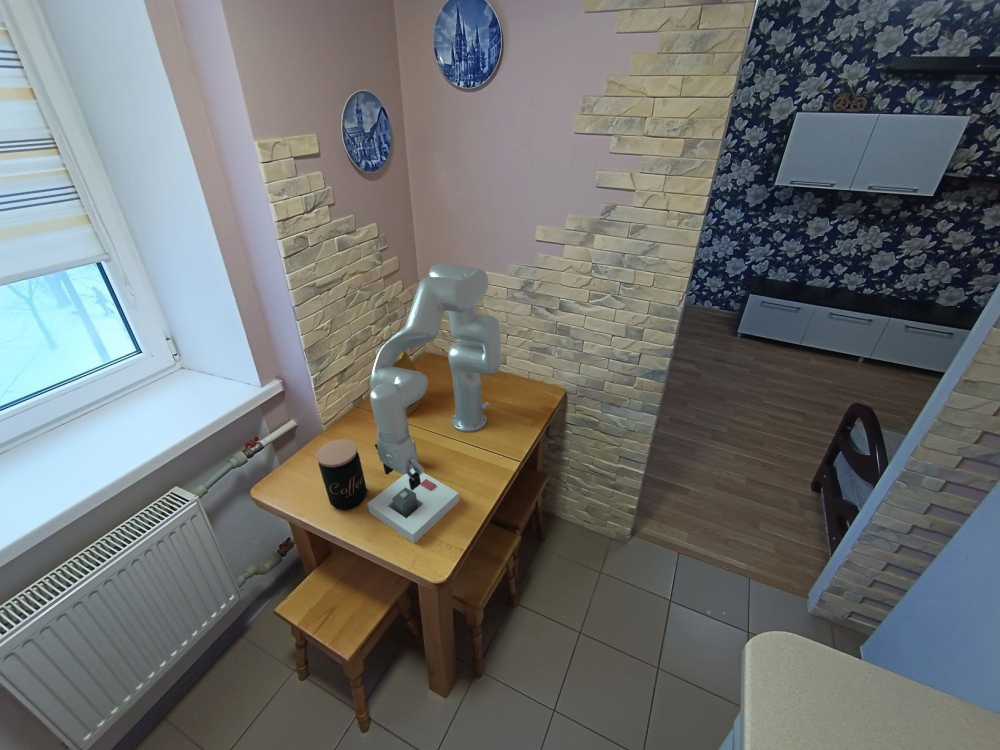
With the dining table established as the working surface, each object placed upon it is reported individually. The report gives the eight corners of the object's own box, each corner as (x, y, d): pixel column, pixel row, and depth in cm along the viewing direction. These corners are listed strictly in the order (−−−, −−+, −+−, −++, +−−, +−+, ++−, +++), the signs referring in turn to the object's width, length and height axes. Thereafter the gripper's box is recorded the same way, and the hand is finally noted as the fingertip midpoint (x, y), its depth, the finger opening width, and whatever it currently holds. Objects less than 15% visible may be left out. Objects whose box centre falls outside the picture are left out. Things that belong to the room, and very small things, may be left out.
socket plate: (415, 475, 141) (413, 465, 139) (459, 501, 132) (458, 491, 130) (369, 512, 129) (366, 502, 127) (414, 543, 120) (412, 533, 118)
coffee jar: (332, 517, 128) (318, 469, 118) (328, 491, 136) (314, 445, 127) (370, 505, 131) (360, 457, 122) (364, 480, 140) (354, 434, 130)
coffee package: (384, 414, 169) (374, 363, 157) (402, 397, 178) (394, 347, 167) (407, 420, 165) (399, 368, 154) (424, 402, 175) (418, 352, 164)
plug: (408, 504, 131) (405, 485, 127) (418, 511, 129) (415, 491, 125) (395, 516, 128) (391, 496, 124) (405, 522, 126) (402, 503, 122)
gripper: (358, 425, 115) (370, 473, 125) (406, 452, 106) (415, 502, 116) (381, 410, 120) (391, 457, 130) (429, 434, 111) (436, 484, 121)
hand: (402, 478), depth 123 cm, fingers open, 9 cm apart
